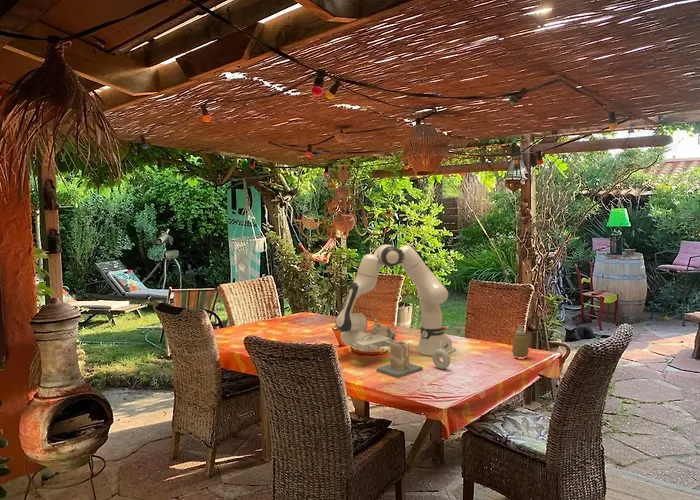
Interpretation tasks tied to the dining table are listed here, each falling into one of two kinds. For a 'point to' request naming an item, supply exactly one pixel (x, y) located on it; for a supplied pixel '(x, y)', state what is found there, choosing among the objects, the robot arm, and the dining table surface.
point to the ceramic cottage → (384, 331)
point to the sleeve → (399, 355)
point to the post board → (399, 373)
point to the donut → (437, 361)
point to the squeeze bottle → (520, 343)
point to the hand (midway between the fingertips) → (384, 346)
